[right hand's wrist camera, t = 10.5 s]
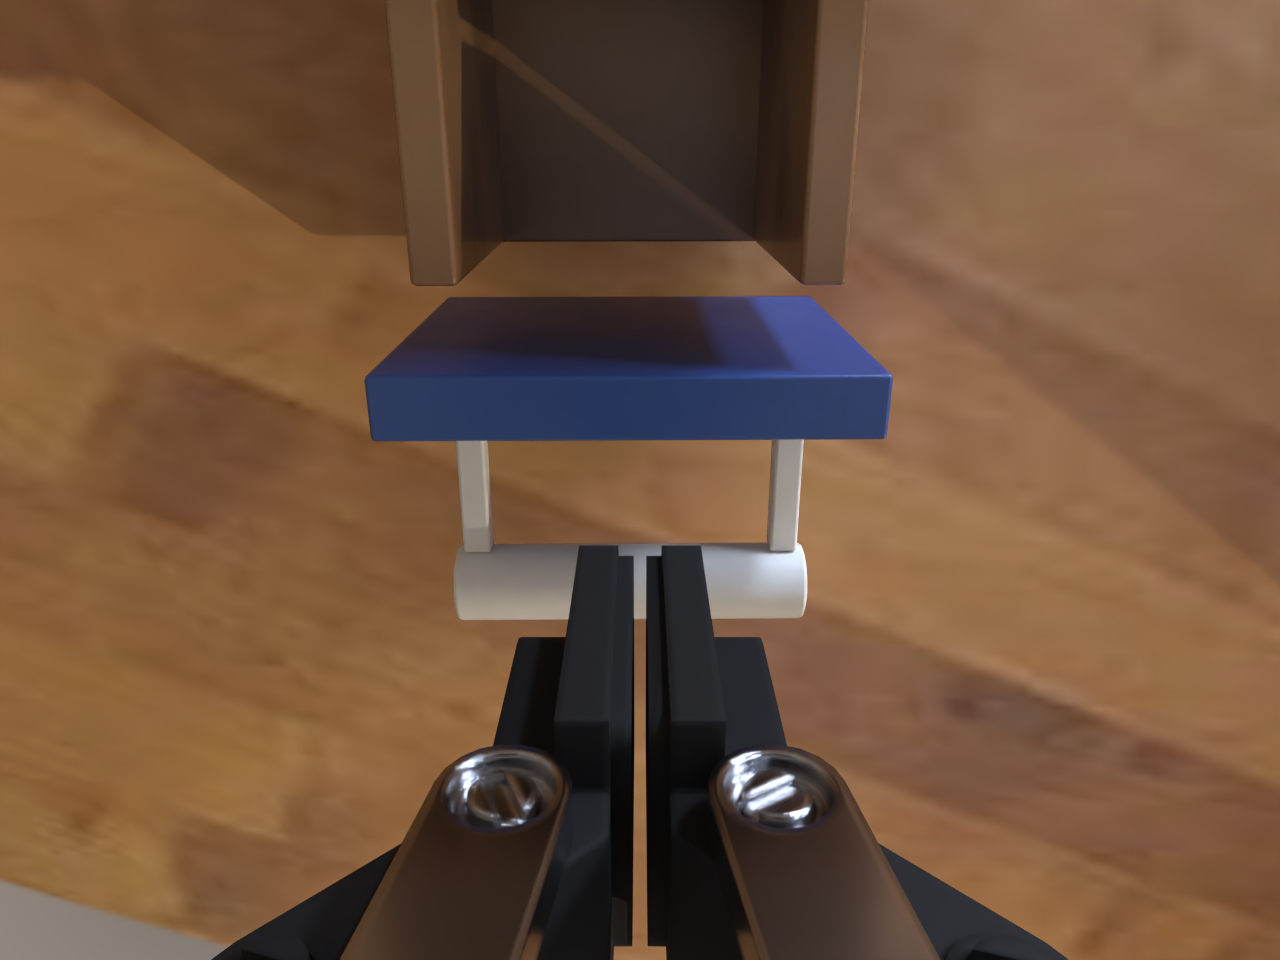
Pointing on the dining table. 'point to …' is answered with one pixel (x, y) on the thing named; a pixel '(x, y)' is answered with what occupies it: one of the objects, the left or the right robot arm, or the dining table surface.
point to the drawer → (627, 211)
